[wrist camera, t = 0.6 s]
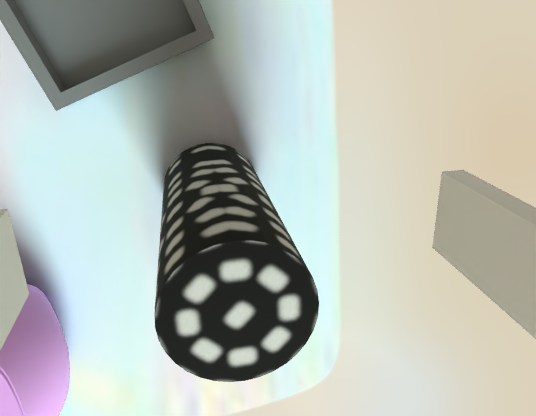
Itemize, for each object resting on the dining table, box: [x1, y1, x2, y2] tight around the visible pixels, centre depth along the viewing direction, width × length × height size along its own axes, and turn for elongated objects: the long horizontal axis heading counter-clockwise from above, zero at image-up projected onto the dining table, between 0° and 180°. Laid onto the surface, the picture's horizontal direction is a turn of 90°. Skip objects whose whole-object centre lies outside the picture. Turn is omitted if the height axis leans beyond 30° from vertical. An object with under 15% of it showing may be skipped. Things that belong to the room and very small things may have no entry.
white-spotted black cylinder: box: [155, 143, 319, 382], centre depth 33 cm, size 8×8×20 cm
